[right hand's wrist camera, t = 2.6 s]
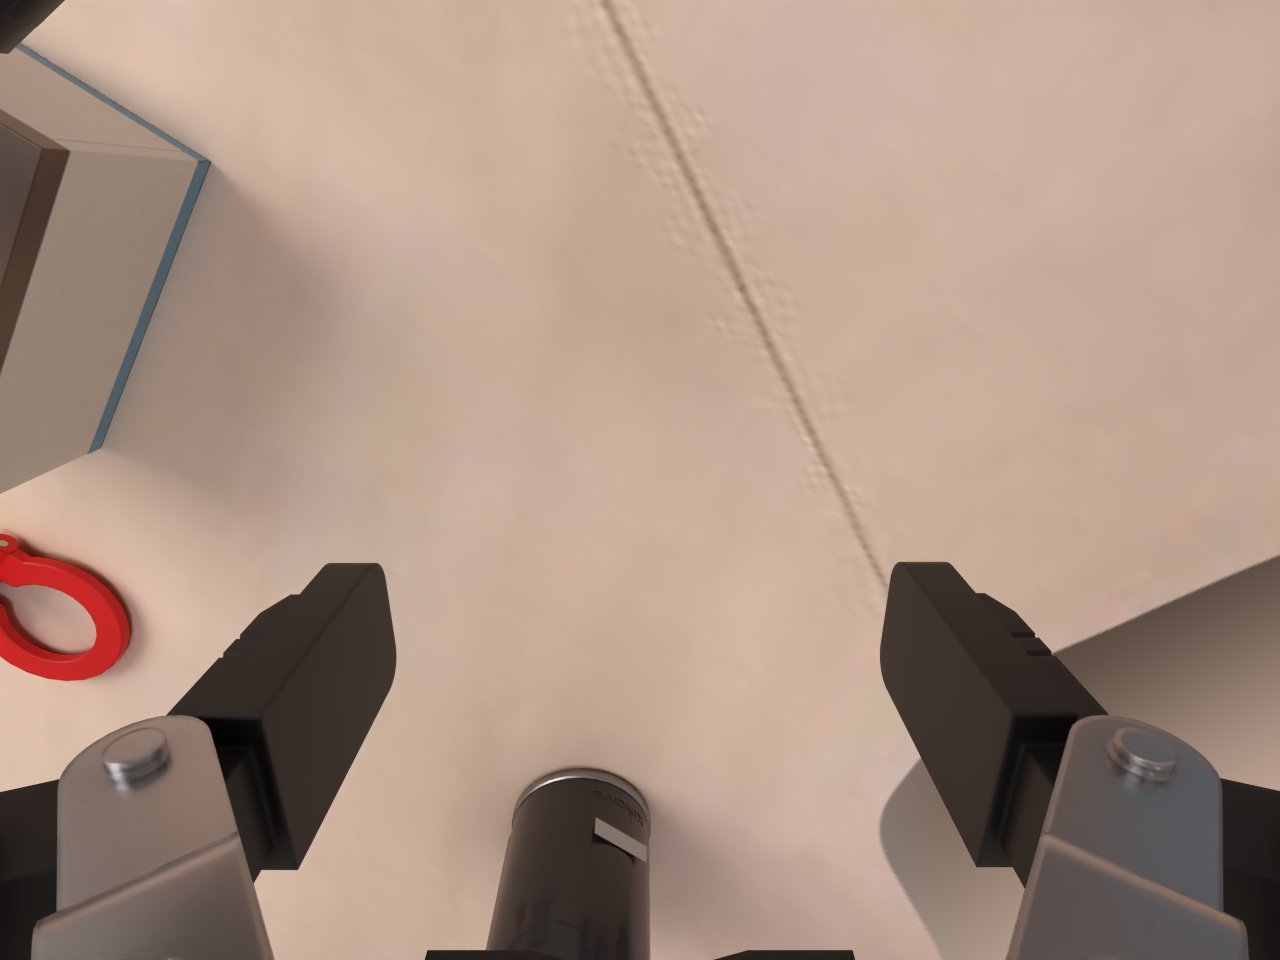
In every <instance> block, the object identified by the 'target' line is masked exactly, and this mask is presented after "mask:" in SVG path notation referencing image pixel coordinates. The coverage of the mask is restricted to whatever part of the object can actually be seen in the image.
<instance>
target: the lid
mask: <svg viewBox="0 0 1280 960" xmlns="http://www.w3.org/2000/svg"><path fill="white" fill-rule="evenodd" d="M68 155H69V150H68V149H66V148H64V147H63V146H61V145H59V144H58V143H56V142H54V141H53V140H51V139H49V138H48V137H46V136H44V135H43V134H41V133H39V132H38V131H36V130H34V129H33V128H31V127H29V126H28V125H26V124H24V123H23V122H21V121H19V120H18V119H16V118H14V117H13V116H11V115H9V114H8V113H6V112H4V111H3V110H1V109H0V371H1V368H2V365H3V362H4V359H5V355H6V352H7V349H8V346H9V343H10V340H11V336H12V333H13V330H14V327H15V324H16V321H17V317H18V314H19V311H20V308H21V305H22V301H23V298H24V295H25V292H26V289H27V286H28V282H29V279H30V276H31V273H32V270H33V266H34V263H35V260H36V257H37V254H38V251H39V247H40V244H41V241H42V238H43V235H44V232H45V228H46V225H47V222H48V219H49V216H50V212H51V209H52V206H53V203H54V200H55V197H56V193H57V190H58V187H59V184H60V181H61V178H62V174H63V171H64V168H65V165H66V162H67V158H68Z"/></svg>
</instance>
